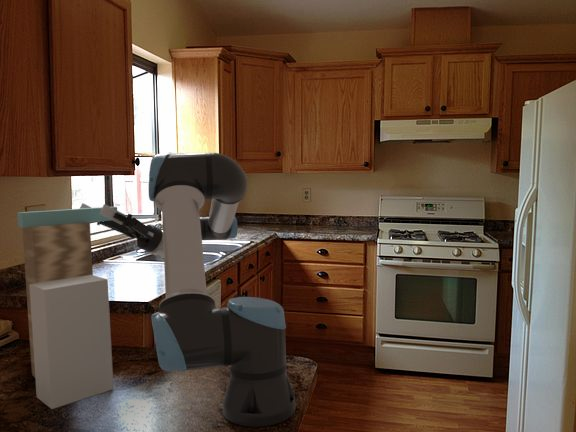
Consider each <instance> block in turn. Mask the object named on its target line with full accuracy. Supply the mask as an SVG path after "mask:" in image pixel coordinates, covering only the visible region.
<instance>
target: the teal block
mask: <svg viewBox="0 0 576 432" xmlns="http://www.w3.org/2000/svg"><path fill="white" fill-rule="evenodd" d="M102 207H103V206H100V207H91V208H82V209H80V208H71V209H55V210H54V209H53V210H36V211H35V210H34V211H22V212H21V211H20V212H16V215H17V227H18V228H25V227H37V226H49V225H61V224H73V223H86V222H88V223H95V222H96V223H97V222H98V221H110V220H111V219H109V218H107V217H105V216H103V215H101V214H100V211H101V209H102ZM110 207H111V208H113V209H115V210H117V211H118V207H117V206H110Z"/></svg>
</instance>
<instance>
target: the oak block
mask: <svg viewBox="0 0 576 432" xmlns="http://www.w3.org/2000/svg"><path fill="white" fill-rule="evenodd" d="M21 228H22V227H21ZM22 239H23V240H22V242H23V257H24V259H23V260H24V273H25V287H26V289H25V290H26V303H27V317H28V318H27V319H28V335H29V348H30V364H31V366H30V367H31V375H32V376H33V377H34V378H35V363H34V348H33V333H32V317H31V302H30V287H29V284H35V283H41V282H47V281H54V280H60V279H67V278H73V277H79V276H86V275H93V273H94V272H93V259H92V258H93V255H92V237H91V222H86V223H73V224H61V225H49V226H37V227H25V228H22Z"/></svg>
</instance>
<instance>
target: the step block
mask: <svg viewBox="0 0 576 432" xmlns="http://www.w3.org/2000/svg"><path fill="white" fill-rule="evenodd" d="M108 281H109V280H108V279H107V278H104V277H100V276H97V275H86V276H79V277H73V278H67V279H60V280H54V281H47V282H41V283H35V284H29V287H30V302H31V317H32V333H33V348H34V363H35V377H34V378H35V391H36V398H37V399H38V400H40V401H41V402H42V403H43V404H45V405H46V407H49V408H50V409H51V410H53V409H56V408H57V409H58V408H60V407H62V406H66V405H69V404H72V403H75V402H78V401H80V400H81V401H82V400H85V399H87V398H91V397H93V396H96V395H99V394H103V393H106V392H108V391H112V390H114V372H113V371H114V370H113V356H112V355H113V353H112V337H111V336H112V335H111V318H110V316H111V315H110V301H109V298H110V297H109V282H108Z"/></svg>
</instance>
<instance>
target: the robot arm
mask: <svg viewBox="0 0 576 432" xmlns="http://www.w3.org/2000/svg"><path fill="white" fill-rule="evenodd" d="M247 190H248V178H247V175H246V173H245V171H244V169H243V168H242V167H241V166H240V164H239V163H238V162H237V161H236V160H234V159H233V158H231V157H230V156H227V155H225V154H222V153H218V152H173V153H172V152H168V153H158V154H155V155H153V157H152V158H151V161H150V166H149V173H148V198H149V201H151V202H153V203H154V205H155V206H156V208H157V210H159V211H161V214H162V215H161V217H162V218H161V220H162V229H161V228H159V227H157V226H155V225H154V224H147V225H146V224H144V223H143V222H141V221H140V220H139V219H137V218H136V217H133V214H131V213H128V214H125V213H123V212H121V211H119V210H118V209H117V210H115V209H113V208H111V207H112V206H109V205H107V204H106V203H105V204H103V205H102V206H101V207H102V209H101V211H100V214H101V215H103V216H105V217H107V218H109V219H111V220H110V221H98V222H96V225H97V226H100V225H102V226H103V227H106V228H109V229H111V230H113V231H116V232H117V233H120V234H123V235H125V236H127V237H129V238H131V239H136V244H137V247H138V248H139V249H141V250H143V251H145V252H148V253H150V254H152V255H154V256H155V259H157V260H158V259H162V260H163V265H164V288H165V289H164V290H165V297H164V298H163V299H162V300H161V301H160V302H159V304H158V311H157V312H155V313H152V314H151V324H152V329H153V338H154V342H155V350H156V354H157V360H158V365H159V367H160V369H161V370H162V371H164V372H166V373H167V372H169V373H171V372H183V373H185V372H187V371H193V370H201V369H210V368H218V367H219V368H220V367H226V366H227V367H228V366H229V370H230V374H229V379H228V382H227V385H226V390H225V393H224V397H223V399H222V414H223V416H224V417H225V419H226V420H227V421H229V422H231V423H233V424H236V425H238V426H243V427H259V428H260V427H261V428H262V427H270V426H273V425H277V424H280V423H283V422H285V421H286V420H288V419H290V418H291V417H293V415H294V414H295V412H296V405H297V404H296V396H295V393H294V390H293V388H292V385H291V381H290V379H289V376H288V374H287V353H286V350H287V348H286V345H287V344H286V328H287V325H286V318H285V310H284V308H283V306H282V305H281V304H280V303H278V302H276V301H274V300H271V299H268V298H262V297H255V296H254V297H252V296H237V297H233V298H230V299H229V300H228V301H227V304H226V307H216V301H215V298H213V296H211V295H210V294H208V291H207V290H208V289H207V281H206V273H205V271H206V270H205V259H204V248H203V241H217V240H219V241H220V240H231V239H236V237H237V236H238V220H237V217H236V213H237V210H238V207H239V203H240V202H241V201H242V200H243V199H244V197H245V196H246V194H247V192H248V191H247ZM205 200H211V204H210V207H209V209H210V210H209V215H208V216H200V210H201V209H202V208H203V207H204V205H205ZM82 208H92V206H90V205H87V204H86V203H81V205H80V207H79V209H82Z"/></svg>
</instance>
